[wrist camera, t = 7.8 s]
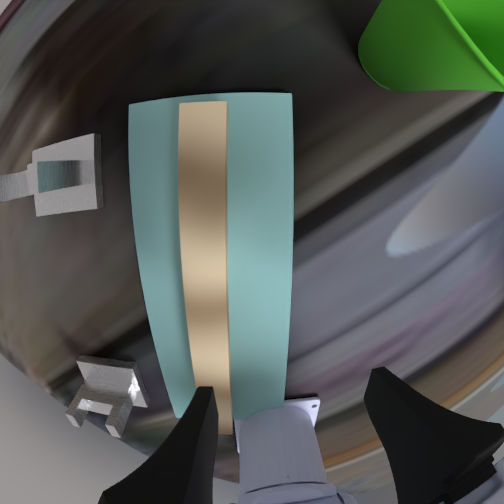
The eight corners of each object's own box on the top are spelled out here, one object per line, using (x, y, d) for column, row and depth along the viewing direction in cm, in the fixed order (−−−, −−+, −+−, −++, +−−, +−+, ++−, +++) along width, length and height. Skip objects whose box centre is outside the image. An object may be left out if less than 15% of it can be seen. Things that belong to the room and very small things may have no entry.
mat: (281, 411, 23) (282, 417, 22) (177, 411, 22) (176, 417, 21) (289, 96, 15) (291, 93, 14) (133, 107, 14) (128, 104, 14)
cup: (324, 96, 15) (425, 24, 4) (333, -1, 12) (394, -87, 2) (431, 134, 16) (549, 133, 5) (431, 41, 13) (519, 4, 2)
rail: (232, 414, 21) (232, 434, 19) (206, 413, 21) (204, 433, 19) (228, 110, 14) (226, 101, 12) (188, 112, 14) (179, 103, 12)
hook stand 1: (104, 206, 16) (50, 226, 10) (44, 214, 16) (-10, 234, 10) (100, 134, 15) (45, 125, 9) (40, 150, 15) (-16, 153, 9)
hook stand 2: (149, 400, 22) (134, 449, 16) (97, 392, 21) (76, 435, 16) (136, 361, 20) (112, 414, 14) (80, 354, 20) (51, 398, 14)
